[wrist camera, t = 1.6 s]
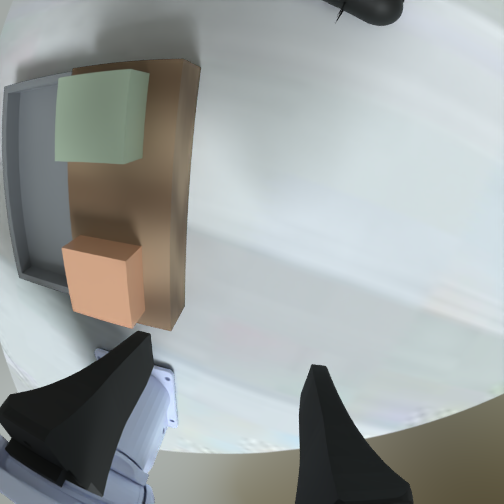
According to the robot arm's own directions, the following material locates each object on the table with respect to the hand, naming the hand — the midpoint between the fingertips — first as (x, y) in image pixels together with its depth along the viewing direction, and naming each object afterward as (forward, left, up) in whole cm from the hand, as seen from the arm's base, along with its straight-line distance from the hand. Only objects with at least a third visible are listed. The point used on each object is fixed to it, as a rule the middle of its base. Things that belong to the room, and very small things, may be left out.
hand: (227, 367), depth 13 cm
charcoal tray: (+4, +16, -8) cm, 18 cm away
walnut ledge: (+4, +8, -8) cm, 12 cm away
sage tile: (+9, +9, -5) cm, 14 cm away
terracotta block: (0, +9, -5) cm, 10 cm away
